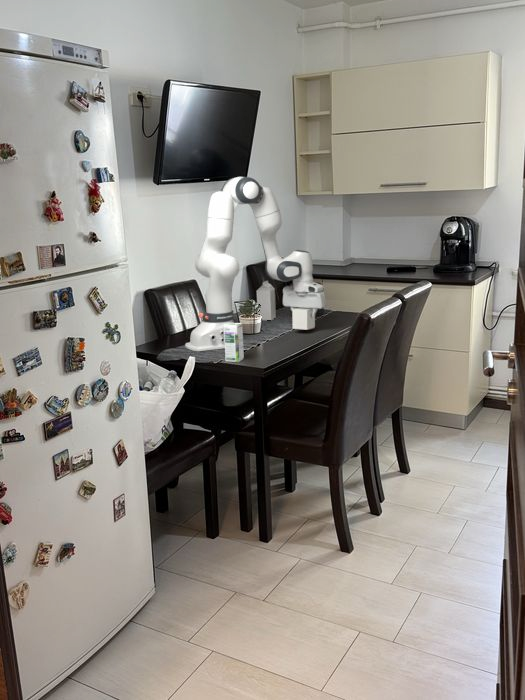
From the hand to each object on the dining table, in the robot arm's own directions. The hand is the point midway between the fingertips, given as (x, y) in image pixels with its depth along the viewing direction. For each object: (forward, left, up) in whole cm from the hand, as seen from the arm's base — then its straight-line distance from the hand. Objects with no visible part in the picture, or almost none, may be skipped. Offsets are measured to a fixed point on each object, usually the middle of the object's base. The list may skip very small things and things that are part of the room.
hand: (304, 317), depth 305 cm
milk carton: (0, +36, -7) cm, 37 cm away
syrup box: (-47, -25, -7) cm, 54 cm away
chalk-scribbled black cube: (+22, +33, -7) cm, 40 cm away
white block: (-1, -1, -5) cm, 5 cm away
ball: (+4, +3, -4) cm, 7 cm away
